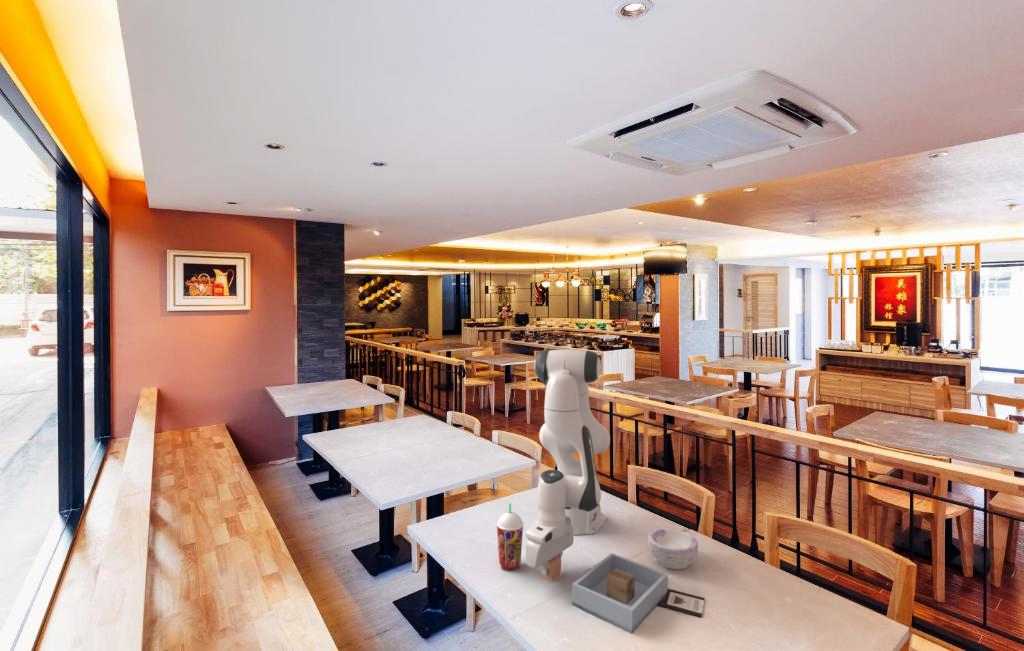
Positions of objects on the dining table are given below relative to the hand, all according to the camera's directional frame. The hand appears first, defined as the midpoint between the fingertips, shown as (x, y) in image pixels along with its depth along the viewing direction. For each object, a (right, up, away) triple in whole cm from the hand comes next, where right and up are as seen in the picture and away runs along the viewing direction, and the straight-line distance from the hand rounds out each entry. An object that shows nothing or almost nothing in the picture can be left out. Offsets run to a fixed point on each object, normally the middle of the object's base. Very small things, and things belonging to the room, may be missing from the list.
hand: (550, 569), depth 153 cm
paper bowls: (+40, -2, +8) cm, 41 cm away
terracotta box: (0, -2, 0) cm, 2 cm away
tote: (+19, -3, -12) cm, 22 cm away
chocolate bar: (+32, -3, -11) cm, 35 cm away
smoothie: (-12, -2, +5) cm, 14 cm away
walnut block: (+19, -2, -12) cm, 22 cm away
